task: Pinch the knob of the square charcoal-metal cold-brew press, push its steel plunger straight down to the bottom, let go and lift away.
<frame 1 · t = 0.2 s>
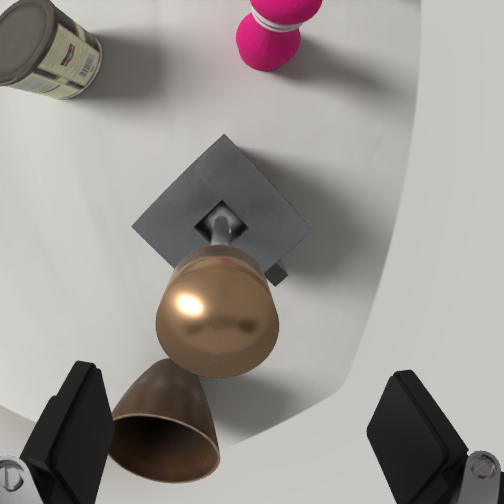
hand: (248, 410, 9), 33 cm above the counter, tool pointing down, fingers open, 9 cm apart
plant pot: (172, 376, 47), on the counter
press: (222, 199, 40), on the counter
pepper mill: (263, 49, 35), on the counter
coffee can: (69, 65, 32), on the counter
plunger: (220, 251, 18), point 22 cm above the counter, slide at 0.0 cm
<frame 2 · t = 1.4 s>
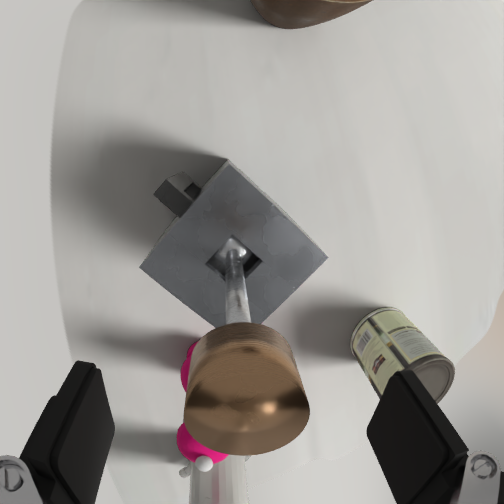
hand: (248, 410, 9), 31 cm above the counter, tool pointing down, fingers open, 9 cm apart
plant pot: (286, 5, 31), on the counter
press: (230, 218, 39), on the counter
pepper mill: (208, 355, 45), on the counter
coffee can: (379, 335, 46), on the counter
plunger: (236, 301, 17), point 22 cm above the counter, slide at 0.0 cm
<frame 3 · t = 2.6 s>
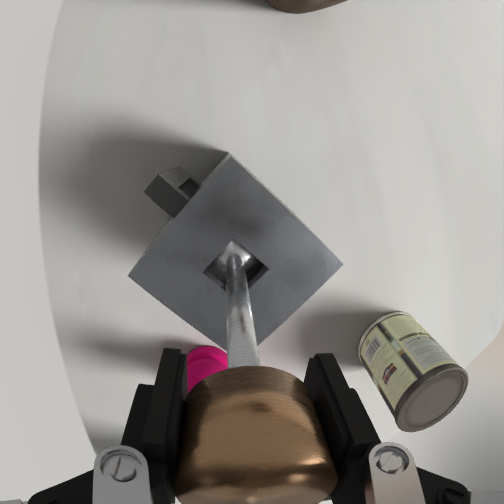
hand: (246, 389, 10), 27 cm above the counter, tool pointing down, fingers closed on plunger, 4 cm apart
press: (231, 216, 35), on the counter
pepper mill: (208, 363, 42), on the counter
coffee can: (388, 340, 43), on the counter
plunger: (240, 322, 14), point 22 cm above the counter, slide at 0.0 cm, touching gripper
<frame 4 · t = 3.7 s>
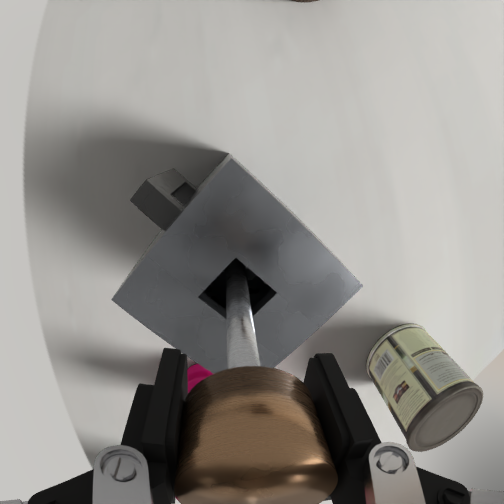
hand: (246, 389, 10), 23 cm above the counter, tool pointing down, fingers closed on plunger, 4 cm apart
press: (232, 224, 32), on the counter
pepper mill: (207, 379, 38), on the counter
coffee can: (398, 353, 40), on the counter
plunger: (240, 323, 14), point 19 cm above the counter, slide at 3.5 cm, touching gripper
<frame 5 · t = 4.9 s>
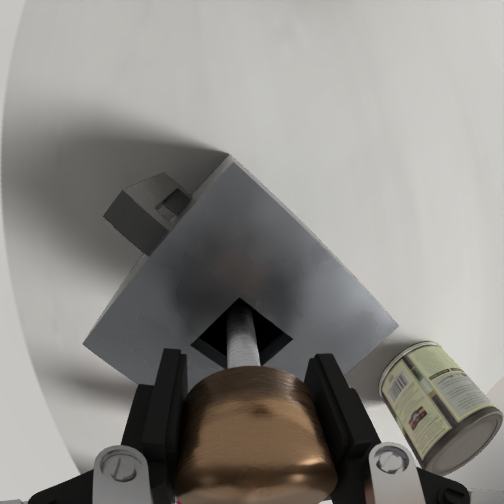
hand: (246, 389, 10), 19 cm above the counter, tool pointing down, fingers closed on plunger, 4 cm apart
press: (233, 236, 28), on the counter
coffee can: (412, 372, 36), on the counter
plunger: (240, 322, 14), point 14 cm above the counter, slide at 8.0 cm, touching gripper
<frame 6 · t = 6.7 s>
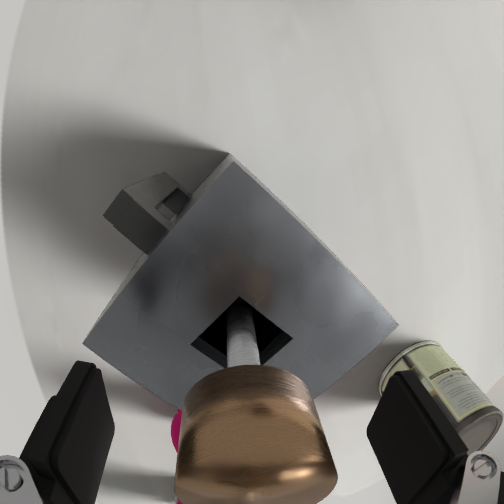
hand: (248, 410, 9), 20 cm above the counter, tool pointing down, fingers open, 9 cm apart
press: (233, 235, 28), on the counter
pepper mill: (206, 403, 34), on the counter
coffee can: (412, 371, 36), on the counter
plunger: (240, 321, 14), point 14 cm above the counter, slide at 8.0 cm
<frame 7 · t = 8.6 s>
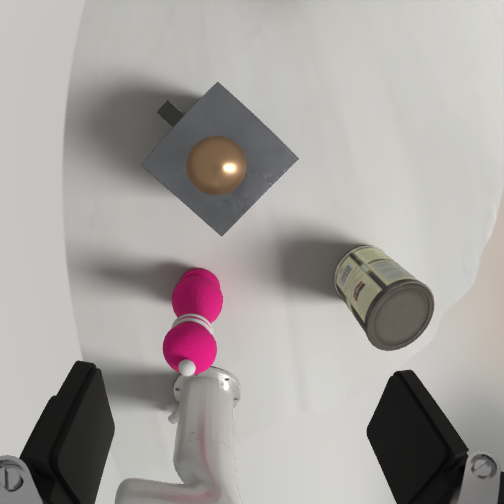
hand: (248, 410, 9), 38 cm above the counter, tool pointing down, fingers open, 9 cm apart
press: (222, 152, 42), on the counter
pepper mill: (199, 286, 49), on the counter
coffee can: (362, 274, 50), on the counter
plunger: (219, 158, 29), point 14 cm above the counter, slide at 8.0 cm
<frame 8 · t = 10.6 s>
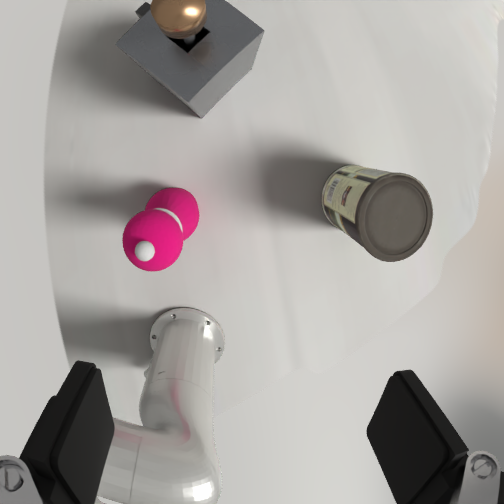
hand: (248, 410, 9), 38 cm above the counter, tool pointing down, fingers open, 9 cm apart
press: (200, 71, 39), on the counter
pepper mill: (176, 209, 45), on the counter
coffee can: (352, 197, 47), on the counter
plunger: (189, 38, 25), point 14 cm above the counter, slide at 8.0 cm
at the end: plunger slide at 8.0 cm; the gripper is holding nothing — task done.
